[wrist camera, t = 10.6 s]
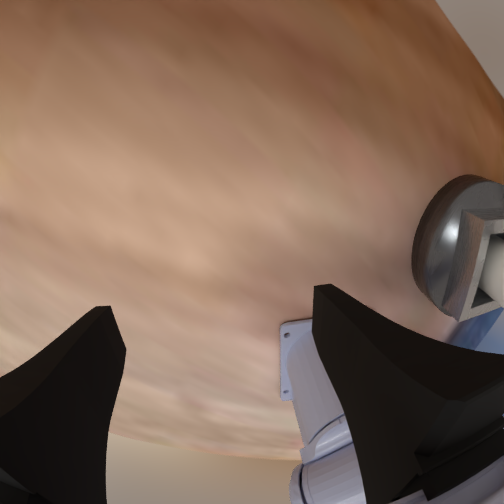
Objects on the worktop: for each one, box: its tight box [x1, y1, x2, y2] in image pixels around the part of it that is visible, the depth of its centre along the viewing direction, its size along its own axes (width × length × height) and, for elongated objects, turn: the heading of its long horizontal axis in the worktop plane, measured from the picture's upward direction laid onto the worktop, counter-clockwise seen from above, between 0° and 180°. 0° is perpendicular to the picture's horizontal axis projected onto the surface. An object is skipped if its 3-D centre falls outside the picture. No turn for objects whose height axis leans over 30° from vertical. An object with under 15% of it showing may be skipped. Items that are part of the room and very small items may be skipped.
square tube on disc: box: [412, 175, 504, 322], centre depth 19 cm, size 12×12×6 cm
